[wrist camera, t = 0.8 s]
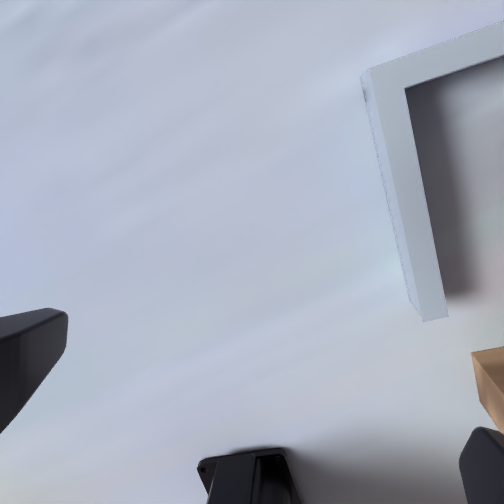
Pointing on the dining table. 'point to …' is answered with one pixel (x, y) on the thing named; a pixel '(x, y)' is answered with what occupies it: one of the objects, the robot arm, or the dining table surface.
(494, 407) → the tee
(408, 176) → the white angled frame
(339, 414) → the dining table surface
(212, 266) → the dining table surface
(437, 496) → the dining table surface
